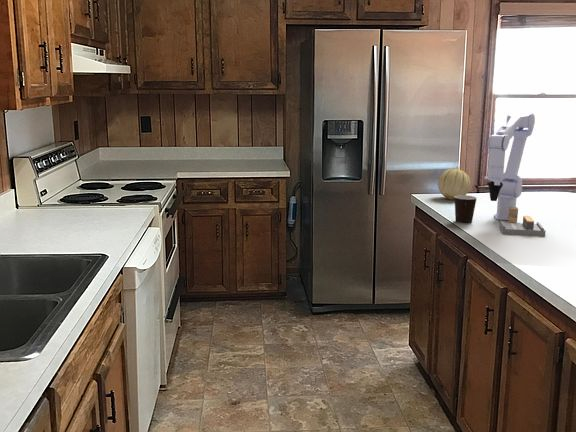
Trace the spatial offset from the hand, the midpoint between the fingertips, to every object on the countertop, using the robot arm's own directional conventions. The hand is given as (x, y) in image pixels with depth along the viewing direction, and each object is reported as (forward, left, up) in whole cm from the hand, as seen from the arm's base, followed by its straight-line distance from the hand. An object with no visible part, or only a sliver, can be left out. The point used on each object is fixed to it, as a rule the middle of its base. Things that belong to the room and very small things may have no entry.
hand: (493, 200), depth 249 cm
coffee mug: (-3, -11, -10) cm, 15 cm away
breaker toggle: (+8, +12, -8) cm, 16 cm away
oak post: (-2, +8, -10) cm, 13 cm away
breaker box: (+8, +10, -10) cm, 16 cm away
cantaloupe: (-52, -12, -10) cm, 54 cm away
